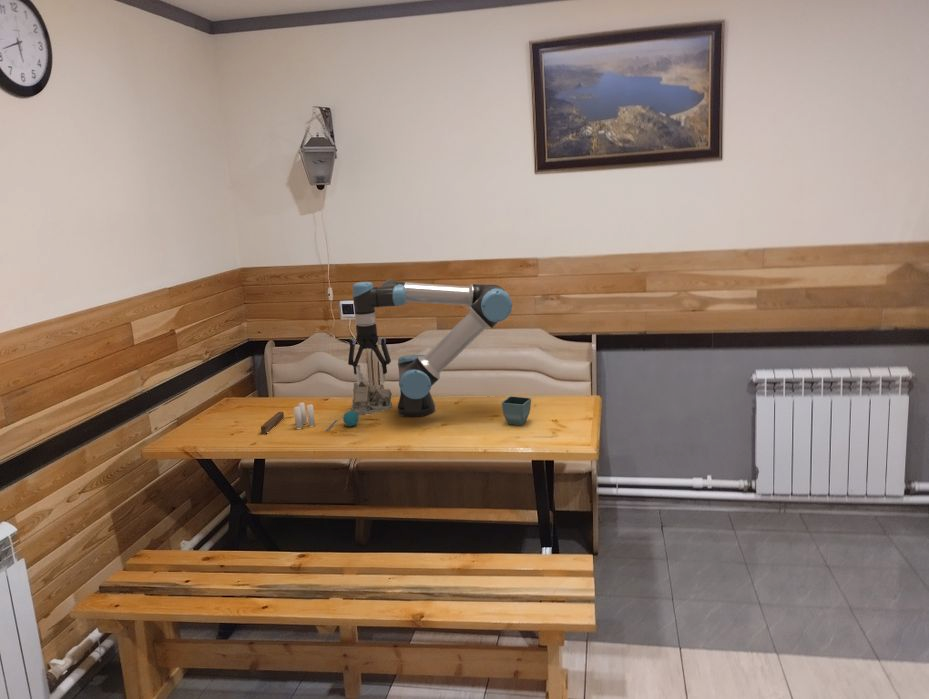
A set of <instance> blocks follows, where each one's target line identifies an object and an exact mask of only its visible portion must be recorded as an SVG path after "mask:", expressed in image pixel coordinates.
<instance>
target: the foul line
mask: <svg viewBox="0 0 929 699" xmlns="http://www.w3.org/2000/svg"><path fill="white" fill-rule="evenodd" d="M336 422H337V423H338V422H339V420H338V419H337V420H333V422H332V423H331V424H330V425H329V427H327V428H326V429H325V432H329V431H331V429H332V428H333V427H334V426H335V425H336V424H337V423H336ZM335 423H336V424H335ZM334 424H335V425H334ZM333 425H334V426H333ZM332 426H333V427H332Z"/></svg>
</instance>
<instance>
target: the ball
mask: <svg viewBox="0 0 929 699" xmlns="http://www.w3.org/2000/svg"><path fill="white" fill-rule="evenodd" d="M359 417H360V415H358V414H357V413H356V412H355V411H351V410H348V411H346V412H344V414H343V417H342V421H343V423H344V424H345V425H346V426H348V427H354V426H356V425H357V424H358V422H359V421H360V419H359Z"/></svg>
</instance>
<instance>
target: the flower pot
mask: <svg viewBox="0 0 929 699" xmlns="http://www.w3.org/2000/svg"><path fill="white" fill-rule="evenodd" d="M531 405H532V397H522V396H513V395H512V396H509V397H507V398H506V399H505V400H503V401H502V402H501V408H502V414H503V417H504V419H505V421H506V423H508V425H512V424H516V425H515V426H523V424H524V423H526V422H527V420H528V418H529V415H530V412H531Z"/></svg>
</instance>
